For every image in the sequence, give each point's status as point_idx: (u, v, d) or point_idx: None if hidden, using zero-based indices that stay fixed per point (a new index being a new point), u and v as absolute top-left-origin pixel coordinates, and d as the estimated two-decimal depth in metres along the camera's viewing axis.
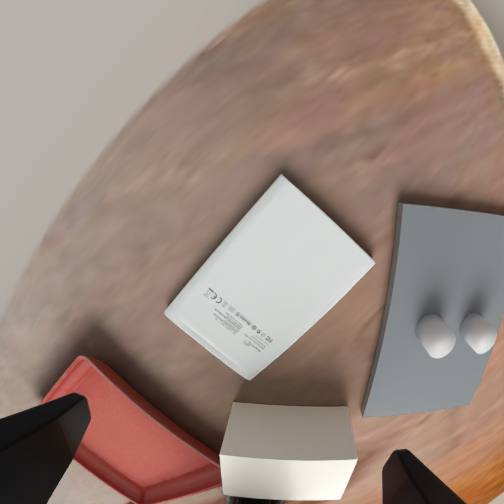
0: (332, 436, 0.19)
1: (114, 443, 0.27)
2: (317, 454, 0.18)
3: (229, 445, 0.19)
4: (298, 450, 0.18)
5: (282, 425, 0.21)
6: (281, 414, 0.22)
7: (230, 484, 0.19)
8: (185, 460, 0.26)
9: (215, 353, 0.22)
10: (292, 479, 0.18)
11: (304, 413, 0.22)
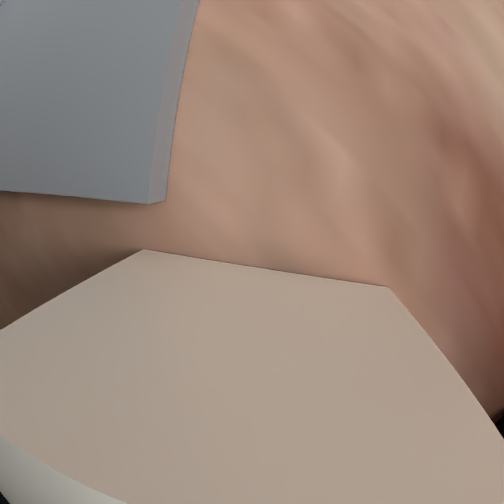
0: None
1: None
2: None
3: None
4: None
5: None
6: None
7: None
8: None
9: None
10: None
11: None
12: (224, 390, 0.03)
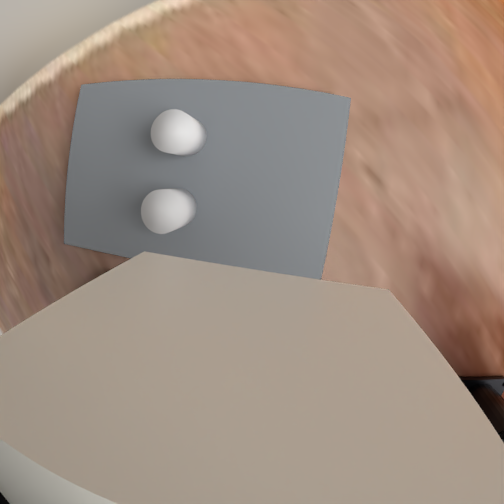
0: None
1: None
2: None
3: None
4: None
5: None
6: None
7: None
8: None
9: None
10: None
11: None
12: (227, 395, 0.03)
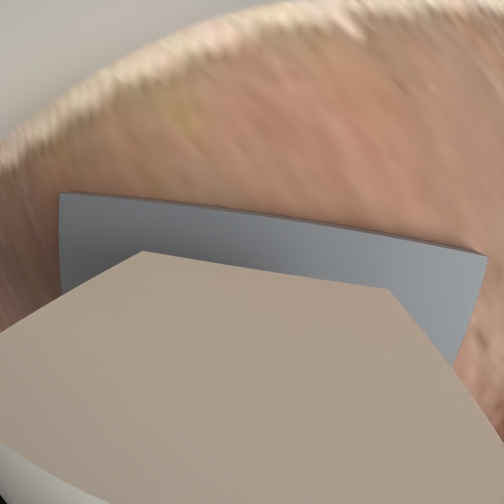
0: None
1: None
2: None
3: None
4: None
5: None
6: None
7: None
8: None
9: None
10: None
11: None
12: (223, 395, 0.03)
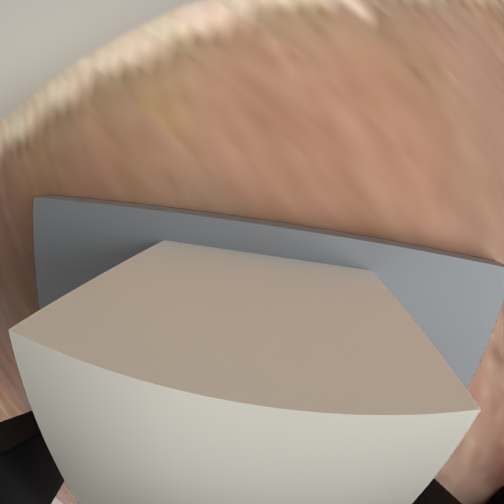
0: None
1: None
2: None
3: None
4: None
5: None
6: None
7: None
8: None
9: None
10: None
11: None
12: (242, 329, 0.04)
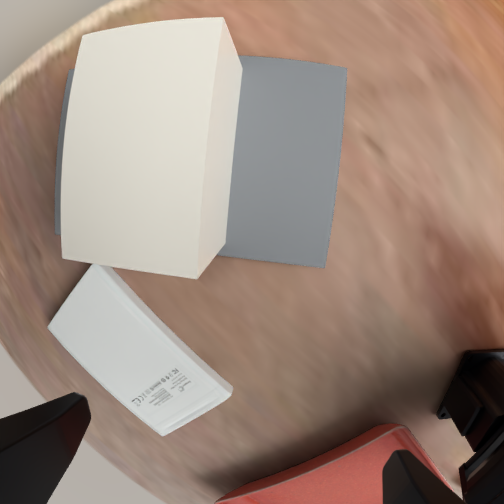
0: None
1: (353, 500, 0.22)
2: None
3: None
4: None
5: None
6: None
7: (148, 254, 0.11)
8: (383, 453, 0.20)
9: (195, 415, 0.20)
10: (116, 126, 0.10)
11: None
12: None
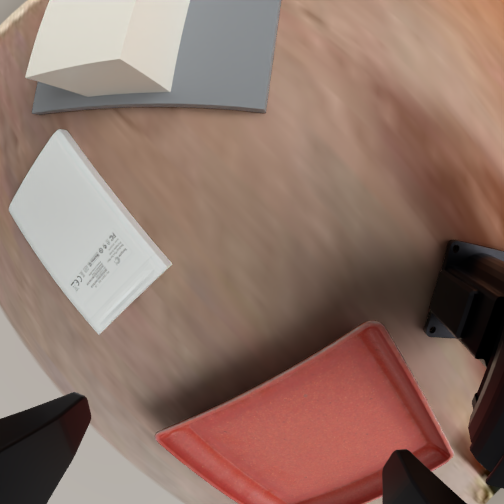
0: None
1: (328, 456, 0.21)
2: None
3: None
4: None
5: None
6: None
7: (88, 50, 0.10)
8: (360, 381, 0.19)
9: (130, 298, 0.19)
10: None
11: None
12: None
